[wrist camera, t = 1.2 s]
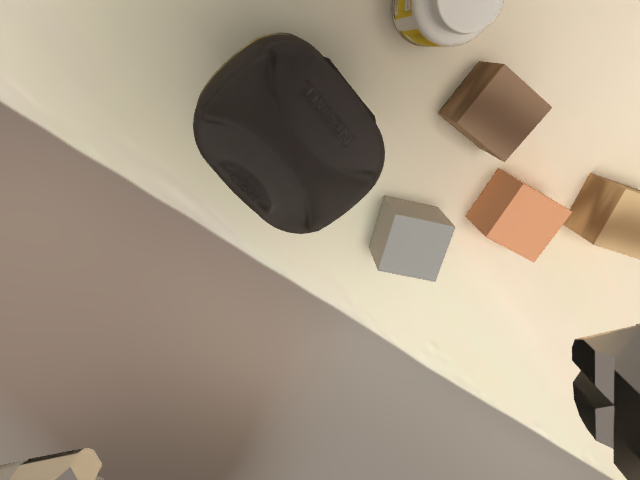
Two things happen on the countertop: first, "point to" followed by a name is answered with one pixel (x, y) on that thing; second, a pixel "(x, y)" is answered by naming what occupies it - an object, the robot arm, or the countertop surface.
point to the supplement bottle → (443, 20)
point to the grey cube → (410, 239)
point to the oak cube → (607, 215)
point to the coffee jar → (288, 134)
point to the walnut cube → (494, 109)
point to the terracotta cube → (517, 215)
